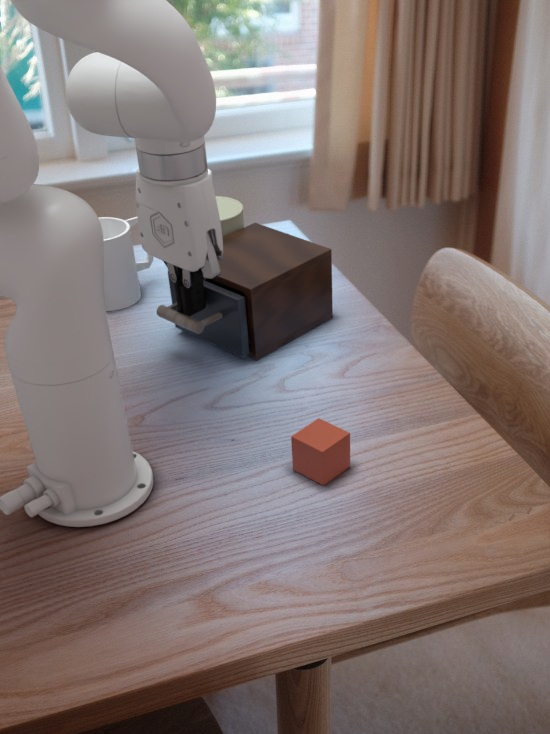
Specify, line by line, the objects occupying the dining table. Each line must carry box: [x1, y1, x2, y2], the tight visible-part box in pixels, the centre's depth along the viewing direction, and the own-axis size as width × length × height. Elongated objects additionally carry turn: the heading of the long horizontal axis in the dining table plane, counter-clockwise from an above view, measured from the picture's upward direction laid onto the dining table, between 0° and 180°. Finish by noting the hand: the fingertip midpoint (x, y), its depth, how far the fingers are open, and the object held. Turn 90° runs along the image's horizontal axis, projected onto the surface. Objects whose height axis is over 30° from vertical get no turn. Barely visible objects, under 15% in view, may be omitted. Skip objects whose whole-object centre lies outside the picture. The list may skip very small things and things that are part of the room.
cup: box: [97, 216, 154, 312], centre depth 126 cm, size 8×12×10 cm
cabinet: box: [208, 222, 334, 362], centre depth 119 cm, size 15×14×10 cm
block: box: [290, 417, 351, 486], centre depth 96 cm, size 4×4×4 cm
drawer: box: [156, 271, 250, 359], centre depth 116 cm, size 18×13×8 cm
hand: (192, 310), depth 112 cm, fingers closed
